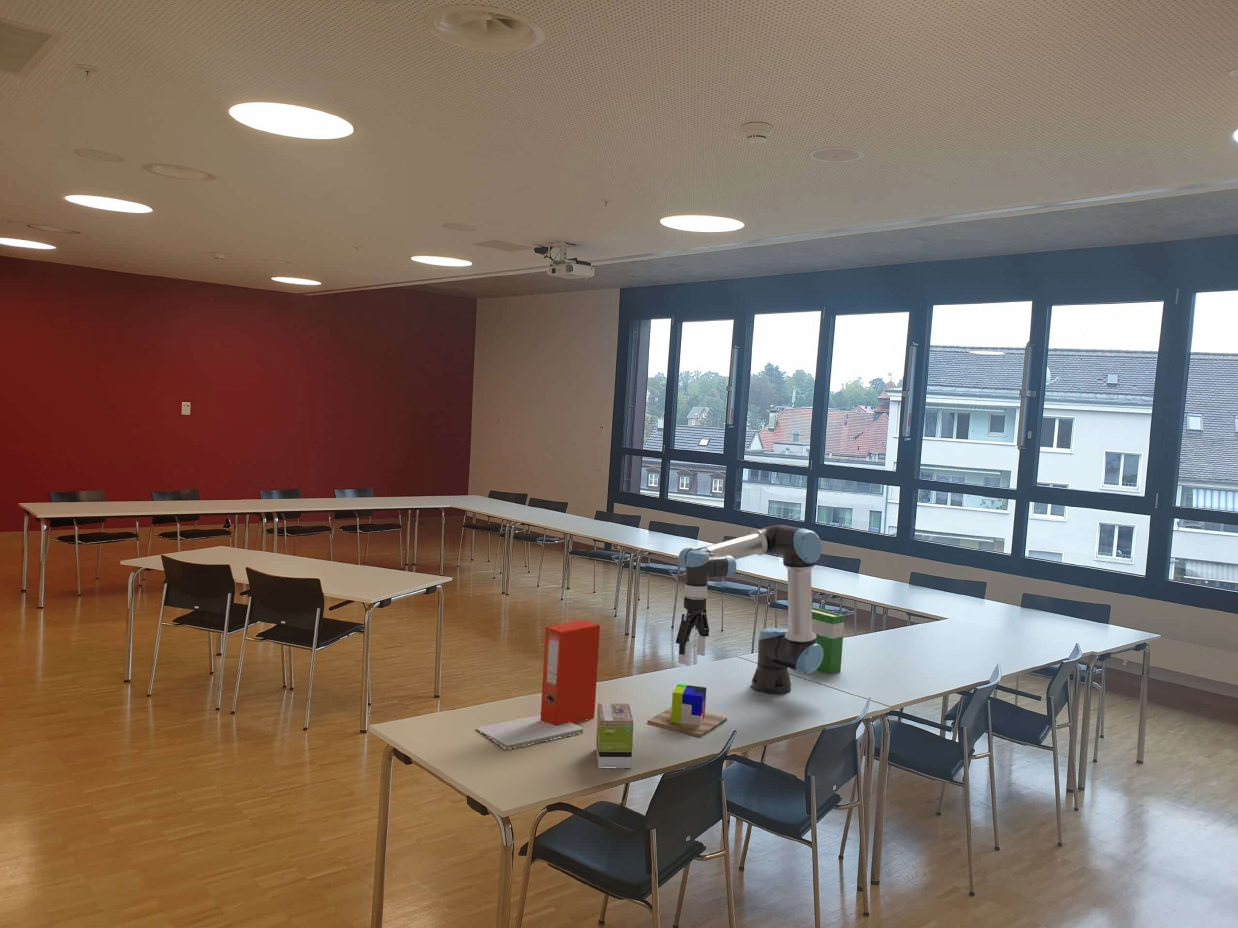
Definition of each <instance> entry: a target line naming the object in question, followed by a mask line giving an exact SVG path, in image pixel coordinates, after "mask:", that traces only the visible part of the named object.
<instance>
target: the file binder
mask: <svg viewBox="0 0 1238 928" xmlns="http://www.w3.org/2000/svg"><path fill="white" fill-rule="evenodd" d="M600 628H601V624H598V623H595V622H593V621H588V620H585V619H583V620H578V621H571V622H567V623H562V624H556V625H549V626H546V627H545V634H544V635H545V637H544V651H543V652H544V653H543V654H544V655H543V668H542V669H543V670H542V687H541V703H540V704H541V705H540V715H541V719H540V720H541V721H544V722H547V723H549V724H552V725H555V726H557V725H561V724H565V723H568V722H571V723H575V724H577V723H576V722H578V723H580V721H582V722H584V721H583V720H585V721H587V720H586V719H588V720H591V719H590V718H592V719H594V718H595V713H596V699H597V698H596V696H597V681H598V680H597V678H598V664H599V647H600V645H599V644H600V633H601V629H600Z"/></svg>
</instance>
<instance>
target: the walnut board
mask: <svg viewBox="0 0 1238 928" xmlns="http://www.w3.org/2000/svg"><path fill="white" fill-rule="evenodd" d="M671 712H672V706H671V707H669V708H667V709H665V710H664V711H662V712H661V713H658V714H656V715H655V716H653V717H651V718H649V719H647V724H649V725H654V726H656V727H661V728H664V729H668V730H671V731H674V732H675V731H676V732H679V733H683V734H686V735H689V736H694V737H697V738H702V737H704V736H706V735H708V733H711V732H712V731H713V730H716V729H717V728H718V727H719V726H721V725H723V724H724V723H726V722H727V721H728V717H726V716H721V715H718V714H713V713H710V712H706V711H705V717H704V719H703V721H702V724H701V726H697V725H690V724H683V723H675V722H671Z"/></svg>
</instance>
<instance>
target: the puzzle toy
mask: <svg viewBox="0 0 1238 928" xmlns="http://www.w3.org/2000/svg"><path fill="white" fill-rule="evenodd" d="M706 699H707V687H704V686H695V685H690V684H689V685H688V684H681V683H677V684H676V686H675V687H674V689H673V691H672V697H671V700H672V701H671V707H672V712H671V722H675V723H683V724H690V725H697V726H701V724H702V721H703V719H704V717H705V712H706V702H707V701H706Z"/></svg>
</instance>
